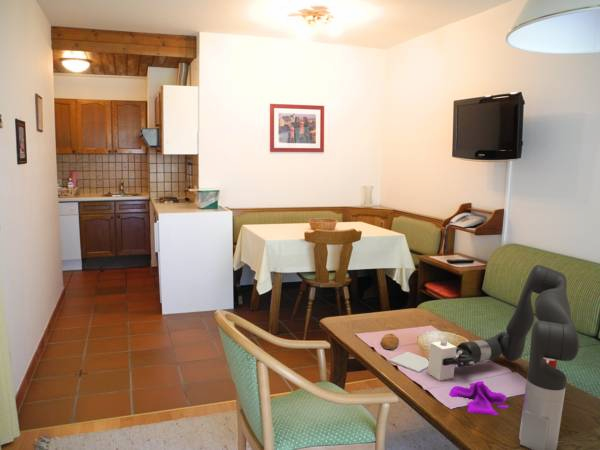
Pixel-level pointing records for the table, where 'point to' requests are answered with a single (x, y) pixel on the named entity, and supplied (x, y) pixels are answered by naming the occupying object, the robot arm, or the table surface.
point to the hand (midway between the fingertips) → (436, 358)
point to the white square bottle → (441, 360)
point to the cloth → (480, 398)
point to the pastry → (390, 341)
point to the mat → (411, 361)
